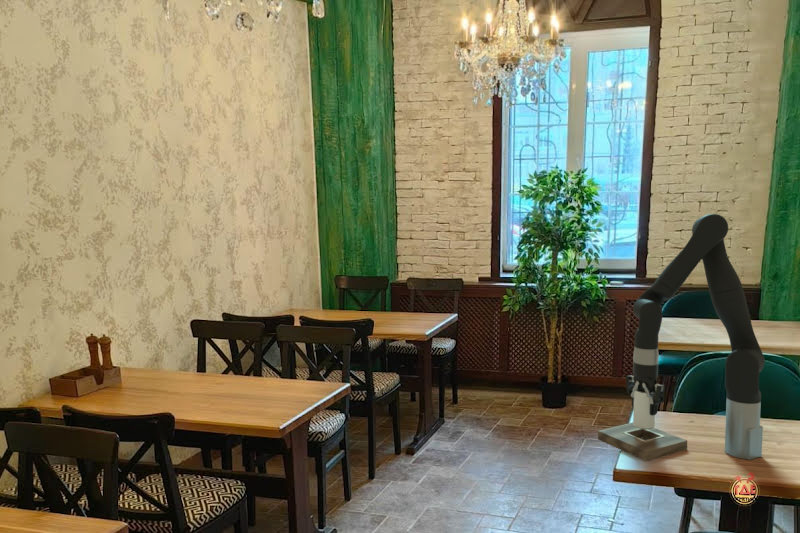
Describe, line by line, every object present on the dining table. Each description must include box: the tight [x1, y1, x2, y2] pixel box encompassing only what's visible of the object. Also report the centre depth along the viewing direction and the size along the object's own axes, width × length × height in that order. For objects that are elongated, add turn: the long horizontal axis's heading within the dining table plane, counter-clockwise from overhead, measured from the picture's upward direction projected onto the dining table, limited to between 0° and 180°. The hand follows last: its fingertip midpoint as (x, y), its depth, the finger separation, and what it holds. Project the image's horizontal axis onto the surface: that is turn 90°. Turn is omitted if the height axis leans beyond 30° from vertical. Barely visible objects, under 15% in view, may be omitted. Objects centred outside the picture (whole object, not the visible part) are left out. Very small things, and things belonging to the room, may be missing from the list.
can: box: [632, 389, 656, 429], centre depth 201 cm, size 6×6×12 cm
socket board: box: [597, 422, 688, 462], centre depth 201 cm, size 20×18×3 cm
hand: (644, 411), depth 201 cm, fingers closed on can, 6 cm apart
